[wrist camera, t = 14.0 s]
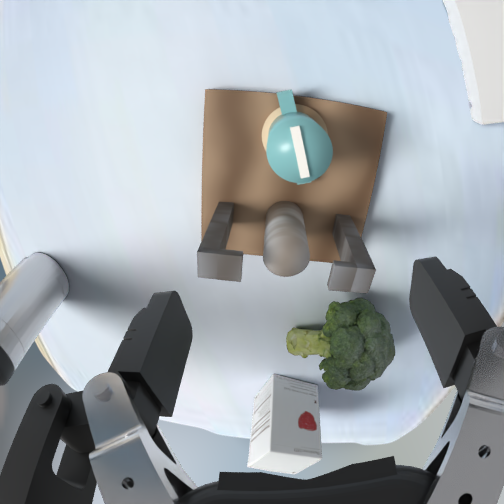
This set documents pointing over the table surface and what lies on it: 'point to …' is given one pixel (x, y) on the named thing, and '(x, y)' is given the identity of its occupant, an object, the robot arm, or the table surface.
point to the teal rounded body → (297, 144)
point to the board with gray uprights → (286, 191)
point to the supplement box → (285, 426)
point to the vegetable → (347, 344)
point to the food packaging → (480, 54)
